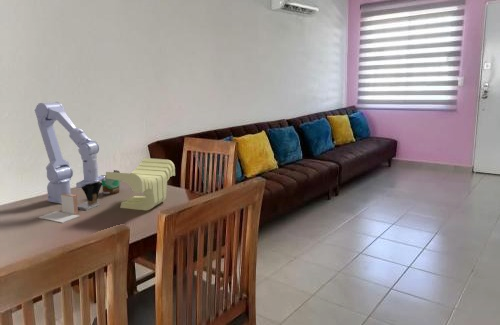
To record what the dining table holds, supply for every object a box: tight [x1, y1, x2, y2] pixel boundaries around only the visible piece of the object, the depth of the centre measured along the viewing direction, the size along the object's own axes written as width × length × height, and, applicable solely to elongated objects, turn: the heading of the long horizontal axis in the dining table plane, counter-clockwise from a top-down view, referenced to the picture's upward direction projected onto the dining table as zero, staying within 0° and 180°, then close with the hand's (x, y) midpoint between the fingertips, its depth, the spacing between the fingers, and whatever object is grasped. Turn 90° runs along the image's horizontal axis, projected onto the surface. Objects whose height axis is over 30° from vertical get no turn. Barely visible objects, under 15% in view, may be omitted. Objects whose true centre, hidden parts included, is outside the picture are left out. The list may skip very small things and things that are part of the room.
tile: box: [61, 193, 79, 215], centre depth 161 cm, size 7×2×8 cm, turn 66°
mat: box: [38, 210, 80, 224], centre depth 157 cm, size 13×8×1 cm, turn 66°
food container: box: [100, 169, 121, 196], centre depth 191 cm, size 12×6×10 cm, turn 168°
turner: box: [77, 193, 101, 211], centre depth 170 cm, size 8×6×5 cm
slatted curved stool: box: [105, 157, 176, 211], centre depth 172 cm, size 30×16×18 cm, turn 165°
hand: (92, 199), depth 173 cm, fingers closed on turner, 2 cm apart
